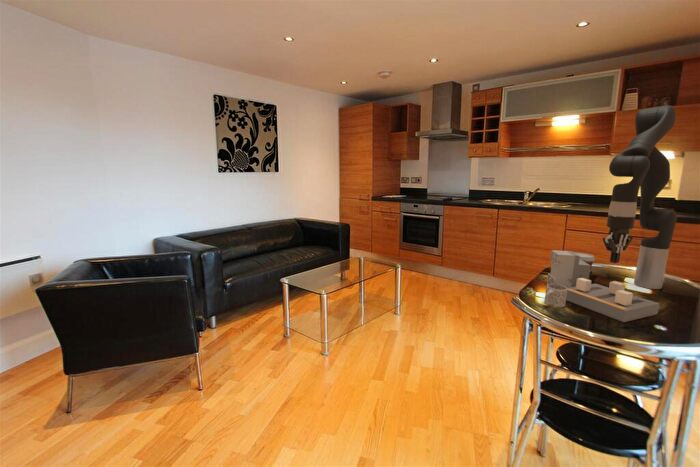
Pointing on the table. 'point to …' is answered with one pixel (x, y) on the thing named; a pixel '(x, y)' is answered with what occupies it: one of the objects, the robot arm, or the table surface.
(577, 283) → the handle
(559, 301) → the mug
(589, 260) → the disposable coffee cup
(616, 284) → the handle
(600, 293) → the slider control panel
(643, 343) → the table surface
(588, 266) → the circuit breaker
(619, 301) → the handle
